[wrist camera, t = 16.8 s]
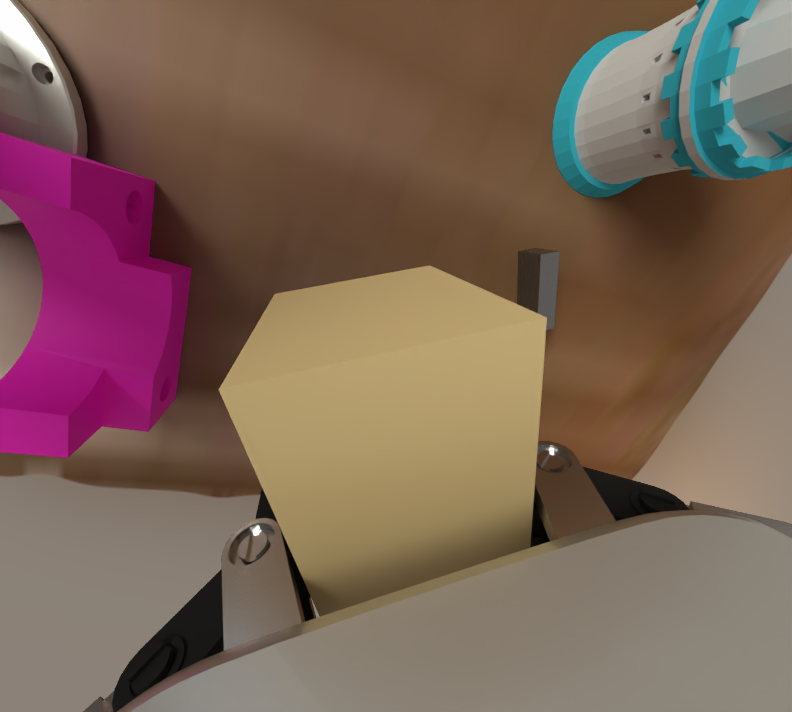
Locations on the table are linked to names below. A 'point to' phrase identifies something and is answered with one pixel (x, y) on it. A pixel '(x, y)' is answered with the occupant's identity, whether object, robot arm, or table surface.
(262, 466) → the yellow rectangular block
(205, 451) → the table surface
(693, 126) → the model tower
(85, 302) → the toy block
